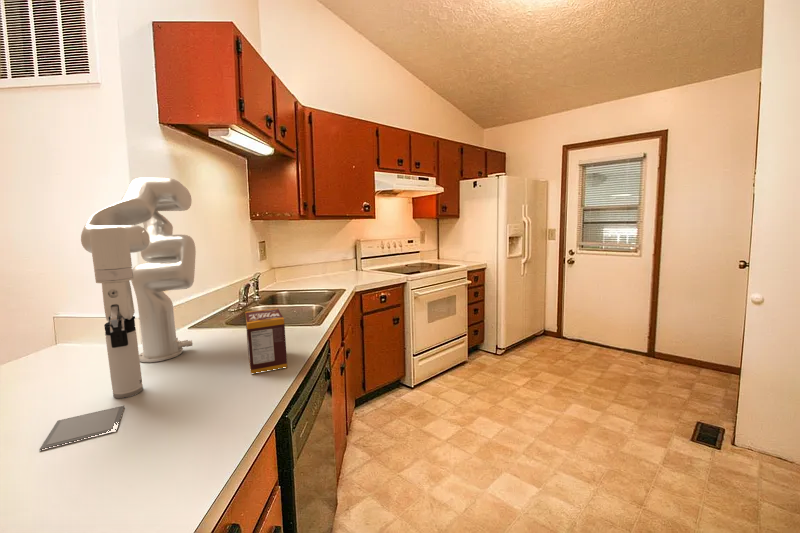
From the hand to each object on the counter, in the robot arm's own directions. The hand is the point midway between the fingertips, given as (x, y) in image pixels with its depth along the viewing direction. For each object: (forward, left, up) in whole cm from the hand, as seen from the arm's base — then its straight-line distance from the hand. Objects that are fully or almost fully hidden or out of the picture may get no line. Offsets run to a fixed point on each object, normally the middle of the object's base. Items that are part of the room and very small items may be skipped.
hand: (122, 341), depth 92 cm
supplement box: (-35, 0, -14) cm, 38 cm away
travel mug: (0, 0, -14) cm, 14 cm away
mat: (+6, +15, -14) cm, 21 cm away
